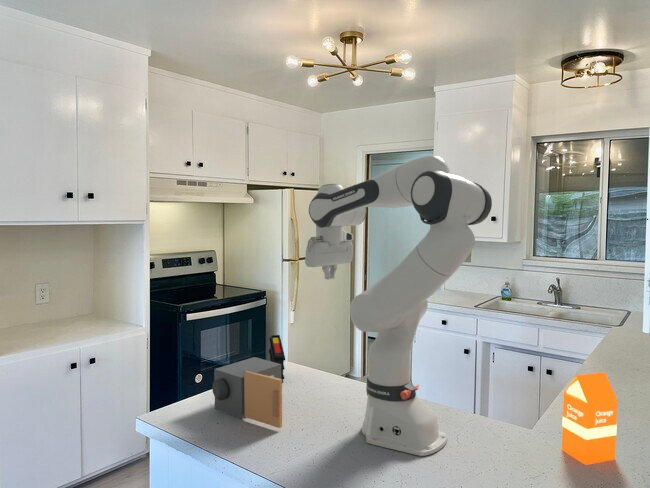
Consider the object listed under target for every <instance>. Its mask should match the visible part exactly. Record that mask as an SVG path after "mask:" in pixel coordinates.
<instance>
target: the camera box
mask: <svg viewBox="0 0 650 488" xmlns="http://www.w3.org/2000/svg"><path fill="white" fill-rule="evenodd" d="M213 370H214V373H213V375H214V377H213V379H214V380H213V383H212V387H211V389H212V394H213V396H214V409H215V410H217V409H218V410H217V411H219V410H220V411H219V412H222V411H223V412H222V413H224V412H226V413H225V414H227V413H228V414H227V415H229V414H230V416H232V415H233V417H234V416H235V418H237V417H238V418H237V419H239V418H240V420H243V418H244V419H247V418H246V417H245V416H244V370H247V371H250V372H254V373H258V374H262V375H266V376H271V377H275V378H279V379H281V364H278V363H275V362H271V361H270V360H267V359H263V358H260V357H256V356H253V357H250V358H246V359H244V360H240V361H237V362H234V363H230V364H226V365H224V366H221V367H217V368H213Z"/></svg>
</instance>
